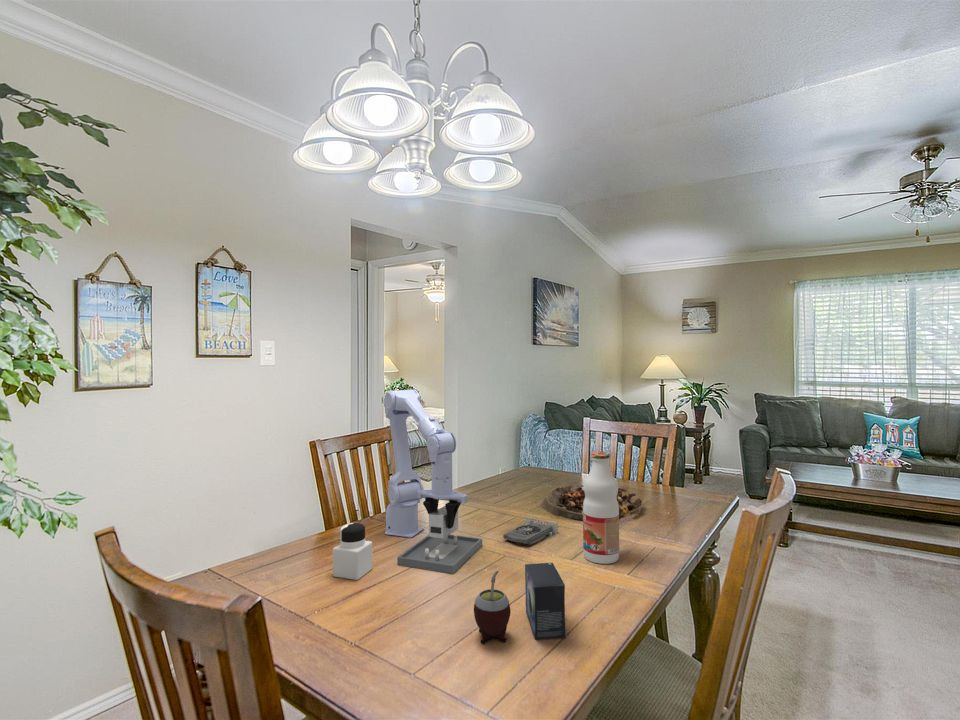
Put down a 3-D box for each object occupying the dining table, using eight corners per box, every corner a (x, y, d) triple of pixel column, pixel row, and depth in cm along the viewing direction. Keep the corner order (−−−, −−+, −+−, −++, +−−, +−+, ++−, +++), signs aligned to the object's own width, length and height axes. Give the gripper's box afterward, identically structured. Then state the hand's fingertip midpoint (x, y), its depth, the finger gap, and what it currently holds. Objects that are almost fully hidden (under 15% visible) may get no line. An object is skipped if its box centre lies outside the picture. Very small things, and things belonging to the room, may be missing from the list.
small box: (523, 612, 105) (523, 562, 105) (554, 610, 106) (553, 561, 106) (533, 640, 95) (532, 585, 95) (567, 638, 95) (566, 583, 95)
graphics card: (526, 515, 160) (558, 522, 153) (526, 527, 160) (559, 534, 153) (493, 530, 147) (527, 538, 140) (494, 543, 147) (528, 551, 140)
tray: (397, 564, 130) (397, 551, 130) (432, 538, 149) (432, 526, 149) (453, 574, 124) (453, 560, 124) (482, 545, 143) (482, 533, 143)
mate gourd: (489, 622, 101) (488, 549, 101) (521, 636, 96) (520, 558, 96) (465, 639, 95) (464, 560, 95) (497, 654, 90) (497, 571, 90)
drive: (428, 536, 134) (428, 513, 135) (444, 527, 143) (444, 505, 143) (442, 538, 133) (443, 515, 133) (457, 529, 141) (458, 507, 141)
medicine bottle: (373, 569, 128) (372, 522, 128) (357, 580, 121) (357, 531, 121) (349, 565, 130) (348, 519, 130) (332, 576, 123) (332, 528, 123)
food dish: (651, 506, 183) (652, 485, 182) (625, 535, 155) (626, 511, 154) (562, 490, 201) (562, 471, 201) (524, 514, 173) (524, 491, 173)
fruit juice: (623, 564, 129) (622, 456, 129) (587, 565, 129) (586, 456, 129) (614, 550, 138) (613, 449, 138) (580, 550, 138) (579, 450, 138)
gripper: (471, 475, 138) (472, 525, 138) (426, 471, 144) (426, 518, 144) (460, 481, 131) (461, 533, 131) (413, 477, 137) (413, 526, 137)
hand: (442, 526), depth 137 cm, fingers closed on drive, 4 cm apart
